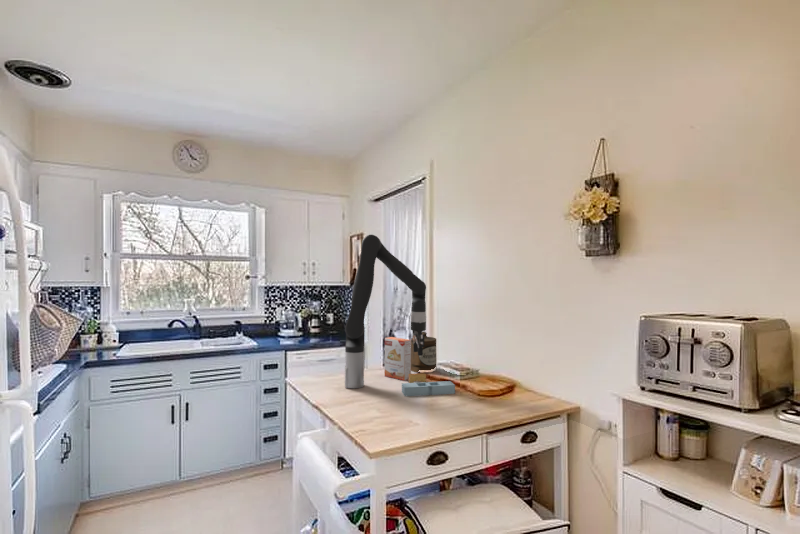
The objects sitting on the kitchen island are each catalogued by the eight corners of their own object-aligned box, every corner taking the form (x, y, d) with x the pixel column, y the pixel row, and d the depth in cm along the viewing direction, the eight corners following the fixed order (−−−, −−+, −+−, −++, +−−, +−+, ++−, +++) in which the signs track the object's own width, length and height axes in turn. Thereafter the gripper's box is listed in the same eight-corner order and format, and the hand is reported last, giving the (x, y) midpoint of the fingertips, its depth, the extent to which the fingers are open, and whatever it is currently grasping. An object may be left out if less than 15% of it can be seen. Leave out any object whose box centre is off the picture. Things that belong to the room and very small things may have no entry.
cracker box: (383, 376, 228) (384, 337, 228) (391, 374, 233) (391, 336, 233) (403, 381, 219) (404, 340, 219) (411, 378, 224) (411, 339, 224)
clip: (409, 388, 206) (409, 375, 206) (408, 386, 209) (408, 373, 209) (425, 387, 207) (425, 374, 207) (424, 386, 210) (424, 373, 210)
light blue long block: (404, 396, 193) (404, 387, 193) (401, 391, 200) (401, 383, 200) (454, 393, 198) (455, 385, 198) (450, 389, 205) (450, 381, 205)
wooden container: (425, 374, 233) (425, 334, 233) (405, 370, 243) (405, 331, 243) (441, 370, 244) (441, 331, 244) (421, 365, 254) (422, 329, 254)
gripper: (407, 319, 215) (407, 351, 215) (414, 322, 201) (414, 356, 201) (421, 318, 216) (421, 350, 216) (429, 322, 203) (429, 356, 203)
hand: (417, 353), depth 209 cm, fingers open, 8 cm apart
